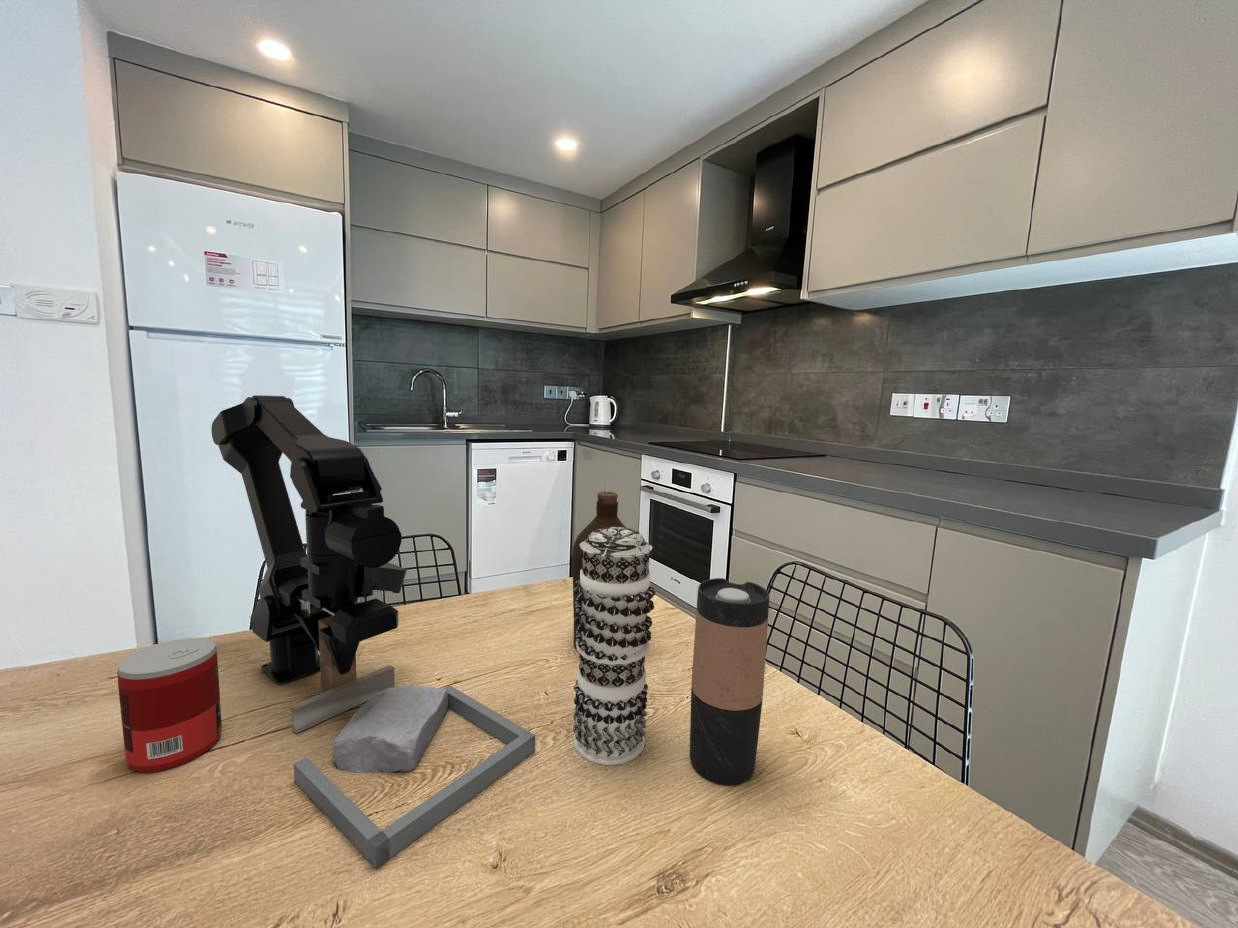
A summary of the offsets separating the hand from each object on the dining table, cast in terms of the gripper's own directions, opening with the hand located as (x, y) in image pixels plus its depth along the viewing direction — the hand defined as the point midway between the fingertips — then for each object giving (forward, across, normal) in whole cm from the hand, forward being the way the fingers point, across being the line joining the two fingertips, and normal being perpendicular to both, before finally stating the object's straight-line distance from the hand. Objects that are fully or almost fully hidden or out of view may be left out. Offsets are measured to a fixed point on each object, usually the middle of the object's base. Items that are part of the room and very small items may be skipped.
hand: (338, 668), depth 64 cm
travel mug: (+5, -43, -21) cm, 48 cm away
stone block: (+5, -11, -1) cm, 12 cm away
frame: (+5, -17, 0) cm, 18 cm away
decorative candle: (+5, -31, -16) cm, 35 cm away
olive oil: (+5, -16, -34) cm, 38 cm away
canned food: (+5, +5, +15) cm, 17 cm away
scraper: (+4, 0, 0) cm, 4 cm away
